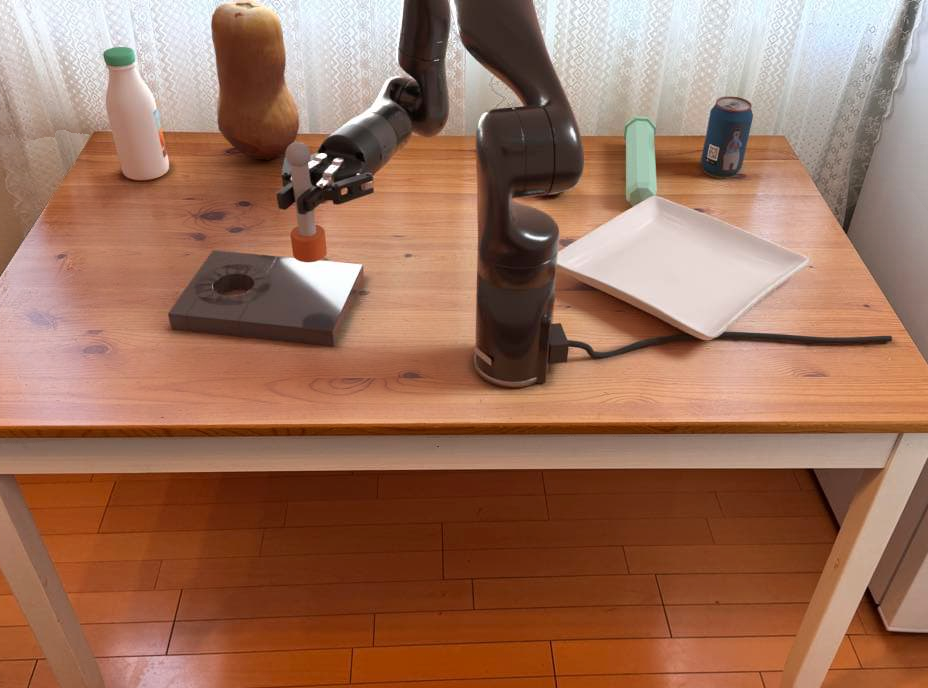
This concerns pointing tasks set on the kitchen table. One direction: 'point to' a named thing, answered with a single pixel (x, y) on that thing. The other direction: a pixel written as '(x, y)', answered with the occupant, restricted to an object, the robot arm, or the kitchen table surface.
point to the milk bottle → (133, 118)
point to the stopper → (306, 235)
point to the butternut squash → (253, 80)
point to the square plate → (680, 265)
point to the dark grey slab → (269, 298)
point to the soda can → (726, 137)
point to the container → (640, 159)
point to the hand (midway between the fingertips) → (290, 204)
